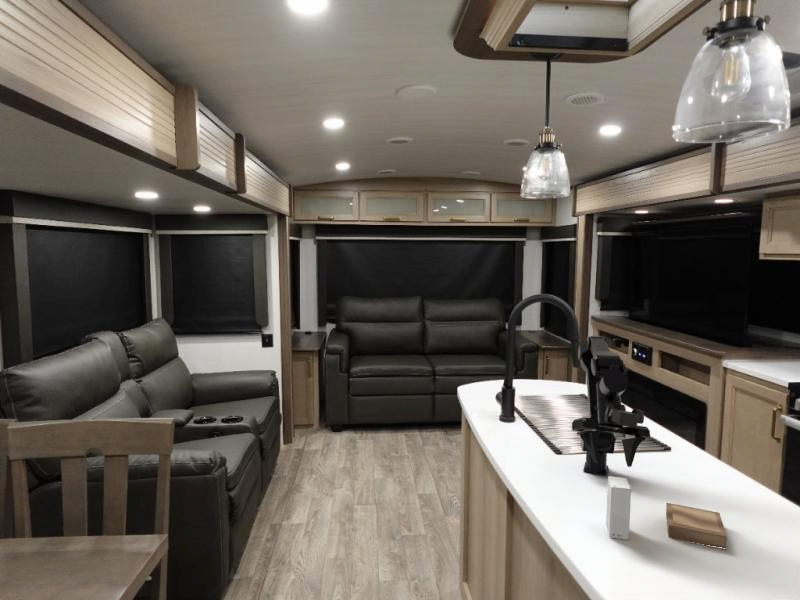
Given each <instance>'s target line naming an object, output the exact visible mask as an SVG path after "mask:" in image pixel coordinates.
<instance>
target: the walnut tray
mask: <svg viewBox="0 0 800 600" xmlns="http://www.w3.org/2000/svg"><path fill="white" fill-rule="evenodd" d="M665 506H666V507H665V517H666V526H667V535H668V537H667V538H670V539H675V540H678V541H682V540H683V542H687V541H688V543H692V542H694V543H693V544H696V543H699V544H698V545H701V544H704V545H703V546H706V545H710V546H716V547H722V548H726V549H727V541H728V535H727V533H726V528H725V527H724V526H725V525H724V523H723V519H722V516H721V513H720V512H718V511H713V510H709V509H708V510H706V509H702V508H696V507H691V506H686V505H681V504H675V503H669V502H666V505H665ZM710 546H709V547H710Z"/></svg>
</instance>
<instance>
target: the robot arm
mask: <svg viewBox="0 0 800 600" xmlns="http://www.w3.org/2000/svg"><path fill="white" fill-rule="evenodd" d="M578 345H579V346H578V350H577V358H578V360H579V362H580V367H581V368H582V370H583V371H584V372H585V375H586V387H587V388H586V389H587V390H586V391H587V406H588V417H584V416H582V417H579V418H575V419H573V421H572V423H571V431H572V432H576V435H577V436H579V437H580V447H581V450H582V452H585V462H584V465H583V469H582V470H583V472H585V473H590V474H595V475H601V476H608V472H609V466H608V464H607V462H608V460H607V459H608V458H607V457H608V454H611V455H612V454H614V452H615V445H616V442H617V438H616V437H615V434H617V435H618V434H619V435H622V436H623V439H621V442H622V447H623V453H624V458H625V459H624V460H625V462H626V463H625V464H626V466H627V467H629V468H632V466H633V462H634V459H635V455H636V453H637V450H638V447H639V446H640V445H641V443H643V442H646V441H647V439H651V430H650V429H649V427H647V426H643V423H645V422H644V421H645V415H644V411H643V410H641V409H634V408H633V409H632V410H631V411H628V410H627V408H626V406H625V404H622V397H621V395H622V394H623V393H624V392H625V391H626V389H627V388H628V385H629V379H628V374H629V371H628V368H627V367H626V364H625V363H624V360H623V359H622V358H621V356H620V355H619V354H618V353H615V352H612V351H611V349H610V347H609V345H608V343H607V338H606V337H605V336H602V335H601V336H599V335H597V336H596V335H590V336H587V337H586V340H583V342H581V343H579V344H578ZM638 424H641V425H638Z"/></svg>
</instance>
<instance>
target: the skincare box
mask: <svg viewBox="0 0 800 600" xmlns="http://www.w3.org/2000/svg"><path fill="white" fill-rule="evenodd" d="M607 476H608V477H607V489H606V490H607V491H606V494H607V495H606V517H605V519H606V520H605V525H606V530H607V533H608V536H609V538H610V539H611V538H612V539H618V540H619V539H620V540H625V541H629V540H630V527H631V526H630V524H631V523H630V522H631V502H632V501H631V500H632V499H631V498H632V497H631V496H632V488H631V485H630V483H629V481H628V479H627V477H620V476H619V477H618V476H612V475H607Z"/></svg>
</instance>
